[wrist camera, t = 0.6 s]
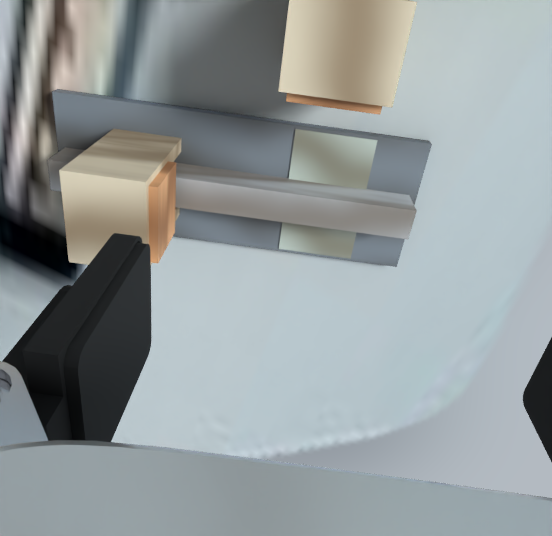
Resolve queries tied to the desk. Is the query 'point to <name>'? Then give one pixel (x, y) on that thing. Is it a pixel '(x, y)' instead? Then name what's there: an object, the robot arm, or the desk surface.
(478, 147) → the desk surface
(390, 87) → the block
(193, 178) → the rail fixture
